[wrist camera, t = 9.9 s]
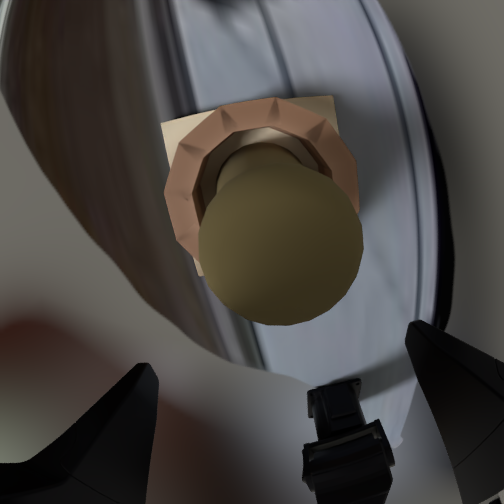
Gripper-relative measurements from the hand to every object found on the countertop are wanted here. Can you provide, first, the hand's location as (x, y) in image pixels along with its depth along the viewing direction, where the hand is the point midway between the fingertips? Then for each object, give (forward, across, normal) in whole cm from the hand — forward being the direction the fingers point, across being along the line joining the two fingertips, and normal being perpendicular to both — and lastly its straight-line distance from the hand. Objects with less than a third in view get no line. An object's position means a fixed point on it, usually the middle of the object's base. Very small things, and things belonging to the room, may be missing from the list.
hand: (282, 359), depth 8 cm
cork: (+11, 0, -3) cm, 12 cm away
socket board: (+12, 0, -3) cm, 13 cm away
